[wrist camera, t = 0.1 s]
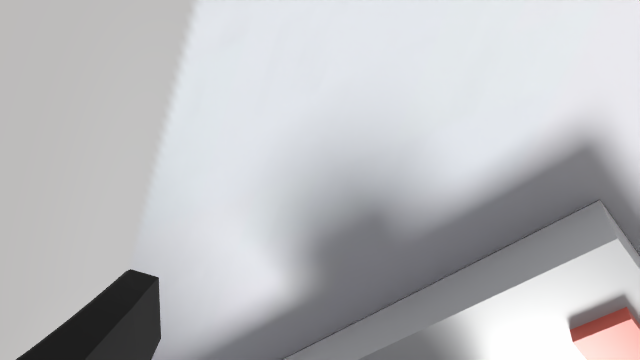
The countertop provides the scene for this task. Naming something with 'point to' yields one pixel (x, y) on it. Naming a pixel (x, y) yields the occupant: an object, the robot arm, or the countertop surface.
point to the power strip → (515, 304)
